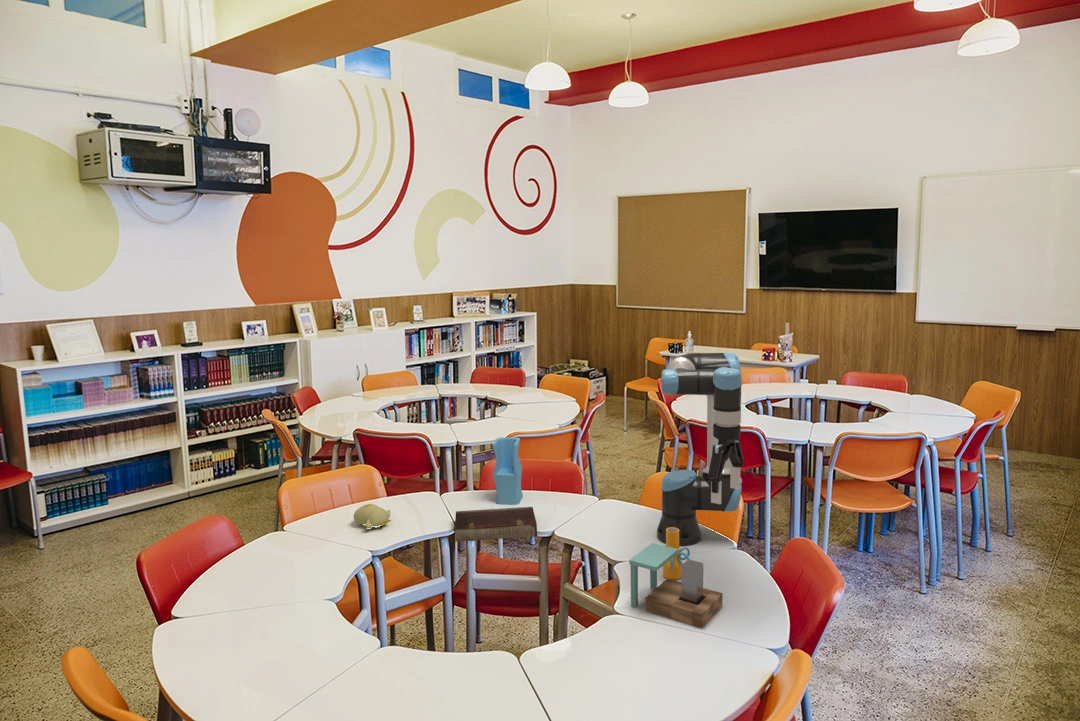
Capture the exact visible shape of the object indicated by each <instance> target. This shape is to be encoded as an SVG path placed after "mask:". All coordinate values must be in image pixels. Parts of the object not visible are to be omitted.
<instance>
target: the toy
mask: <svg viewBox="0 0 1080 721" xmlns="http://www.w3.org/2000/svg"><path fill="white" fill-rule="evenodd" d="M391 513H392V512H391V509H388V510H386V509H384V508H382V507H380V506H378V505H376V504H375V503H374V504H373V503H368V504H365V505H362V506H360V507H359V508H357V509H356V510H355V512H354V514H353V520H354V521H355V523H356V524H358V523H360V524H359V525H361V524H365V525H363V526H364V527H365V530H366V529H367V528H371V527H372V526H379V525H381V526H382V527H384V526H385V525H386V524H388V523H390V522H391V521H392V519H390V517H391ZM385 523H386V524H385ZM379 528H380V527H377V528H376V529H379Z"/></svg>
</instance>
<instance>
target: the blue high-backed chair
mask: <svg viewBox="0 0 1080 721" xmlns="http://www.w3.org/2000/svg"><path fill="white" fill-rule="evenodd" d="M520 440H521V438H520V437H503V436H502V437H497V438H496V439H495V440H494V441H493V442H492V449H493V451H494V455H495V466H494V468H493V469H494V470H493V474H492V477H493V481H494V484H495V489H496V496H495V504H496V505H505V506H507V505H510V506H511V505H512V506H513V505H514V506H515V505H519V504H520V503H521V501H522V499H523V498H524V495H523V491H522V475H523V474H522V473H523V466H522V464H521V460H520V458H519V457H520V456H519V450H520V449H519V446H520V443H521V442H520Z"/></svg>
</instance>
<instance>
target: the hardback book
mask: <svg viewBox="0 0 1080 721" xmlns="http://www.w3.org/2000/svg"><path fill="white" fill-rule="evenodd" d="M454 518H455V519H454V520H455V521H454V542H455V543H456V542H470V541H471V542H473V541H486V540H487V541H488V540H501V539H502V540H503V539H515V538H517V539H518V538H531V537H532V538H535V537H538V525H537V520H536V516H535V511H534V507H533V506H522V507H505V508H490V509H473V510H472V509H471V510H457V511H455V517H454Z"/></svg>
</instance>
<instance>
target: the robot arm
mask: <svg viewBox="0 0 1080 721" xmlns="http://www.w3.org/2000/svg"><path fill="white" fill-rule="evenodd" d="M742 385H743V380H742V371H741V364H740V360H739V357H738V355H737V354H736V353H733V352H732V353H731V352H691V353H684V354H682V355H679V356H677V357H675V358H673V359H672V360H671V361H669V363H668V364H667V367H666V369H663V370H662V371H661V392H662V395H663V394H664V395H668V396H669V395H670V396H675V395H677V396H685V395H686V396H690V395H691V396H692V395H693V396H695V395H696V396H706V399H707V402H706V403H707V404H706V405H707V406H706V409H707V410H706V414H707V415H706V417H707V418H706V420H707V421H706V422H707V423H706V436H707V437H706V440H707V441H706V446H707V447H706V454H707V455H706V456H707V457H706V467H705V468H703V469H702V475H697V473H696V471H695V470H691V469H678V470H676V469H675V470H673V471H670V472H668V473H665V475H664V476H663V477H662V481H661V488H660V489H661V517H660V520H659V523H658V526H657V529H656V538H657V539H658V540H659V541H661V542H662V543H664V544H666V529H667V528H669V527H675V528H678V529H679V547H680V546H683V547H684V546H691V545H694V544H697V543H699V542H700V541H701V539H702V532H701V529H700V525H699V521H698V519H697V511H709V512H711V511H712V512H713V511H715V512H723V513H724V512H736V510H738V508H739V506H740V501H741V498H742V497H741V496H742V488H743V487H742V483H743V478H742V477H741V468H744V466H745V464H744V462H745V460H744V455H743V449H742V445H741V432H742V431H741V429H742V428H741V423H742V407H741V404H742Z"/></svg>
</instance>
